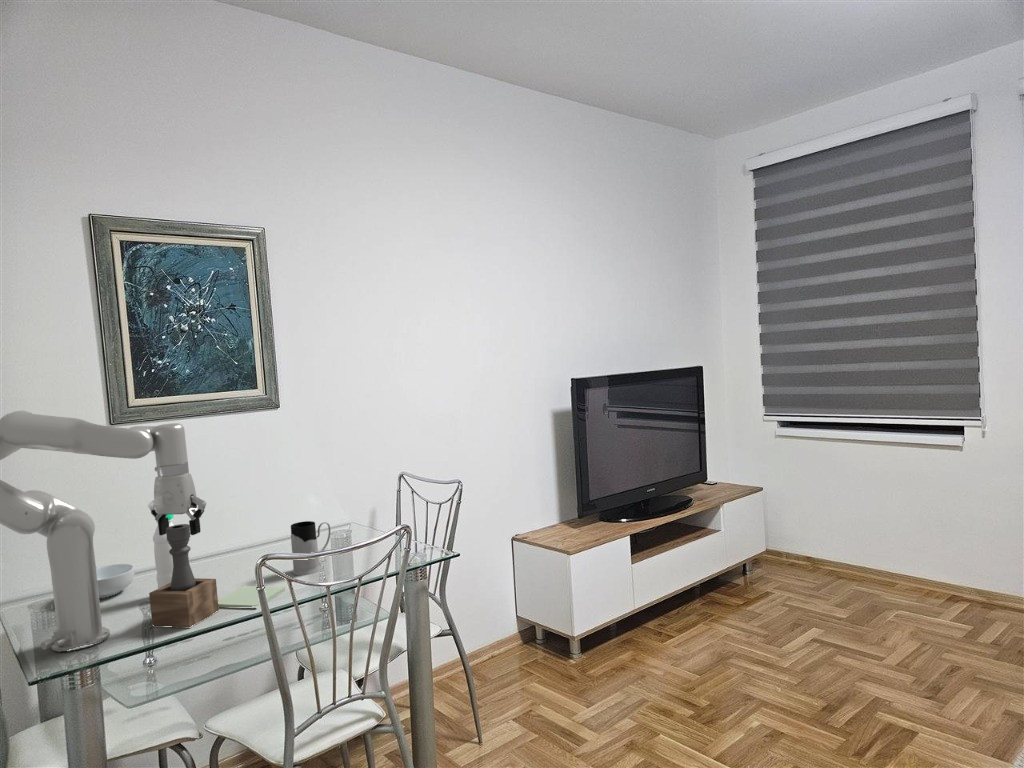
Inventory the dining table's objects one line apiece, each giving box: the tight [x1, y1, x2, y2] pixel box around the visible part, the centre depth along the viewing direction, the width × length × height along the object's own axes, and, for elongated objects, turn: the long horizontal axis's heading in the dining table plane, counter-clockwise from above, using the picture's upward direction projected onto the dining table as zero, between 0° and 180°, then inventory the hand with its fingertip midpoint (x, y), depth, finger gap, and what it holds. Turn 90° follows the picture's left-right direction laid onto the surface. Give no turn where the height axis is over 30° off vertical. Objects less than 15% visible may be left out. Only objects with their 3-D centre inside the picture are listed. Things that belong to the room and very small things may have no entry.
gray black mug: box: [290, 520, 331, 576], centre depth 224 cm, size 9×14×15 cm, turn 140°
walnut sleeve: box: [148, 577, 220, 628], centre depth 187 cm, size 12×12×9 cm
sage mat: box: [218, 585, 286, 607], centre depth 199 cm, size 14×14×1 cm
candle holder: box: [166, 523, 196, 591], centre depth 186 cm, size 6×6×25 cm
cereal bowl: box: [96, 563, 135, 599], centre depth 211 cm, size 17×17×7 cm
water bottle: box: [152, 514, 175, 589], centre depth 206 cm, size 7×7×25 cm
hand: (180, 533), depth 186 cm, fingers open, 9 cm apart
